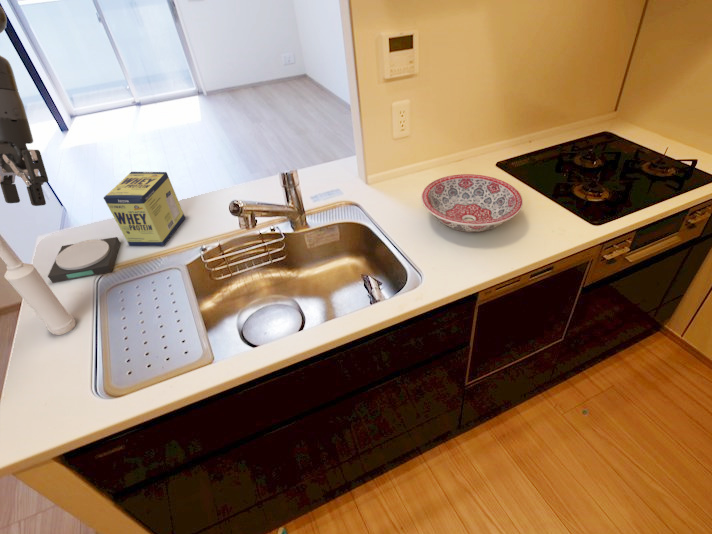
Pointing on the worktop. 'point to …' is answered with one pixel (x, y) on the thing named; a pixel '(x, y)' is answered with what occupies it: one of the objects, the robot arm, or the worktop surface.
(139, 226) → the protein box
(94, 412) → the worktop surface
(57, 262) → the scale
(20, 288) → the bottle
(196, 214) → the worktop surface
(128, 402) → the worktop surface
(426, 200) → the ceramic bowl
